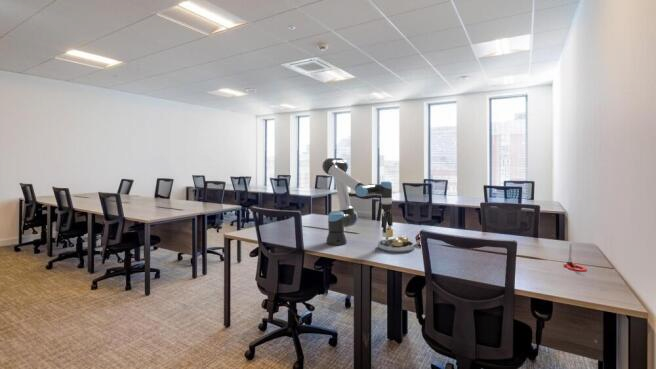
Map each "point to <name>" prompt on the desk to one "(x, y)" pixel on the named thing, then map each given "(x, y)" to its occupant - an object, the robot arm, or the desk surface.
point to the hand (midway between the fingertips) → (387, 235)
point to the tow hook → (569, 263)
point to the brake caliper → (417, 239)
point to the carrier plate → (396, 245)
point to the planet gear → (388, 232)
